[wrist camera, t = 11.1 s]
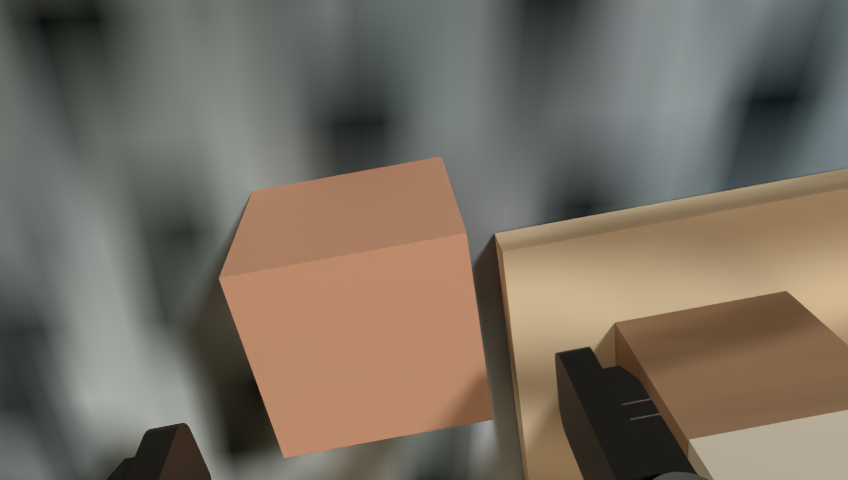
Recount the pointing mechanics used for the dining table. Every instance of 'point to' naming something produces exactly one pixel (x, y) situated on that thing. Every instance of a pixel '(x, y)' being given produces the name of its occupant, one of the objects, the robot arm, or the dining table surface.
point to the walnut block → (735, 365)
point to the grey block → (776, 451)
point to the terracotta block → (359, 307)
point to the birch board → (659, 281)
